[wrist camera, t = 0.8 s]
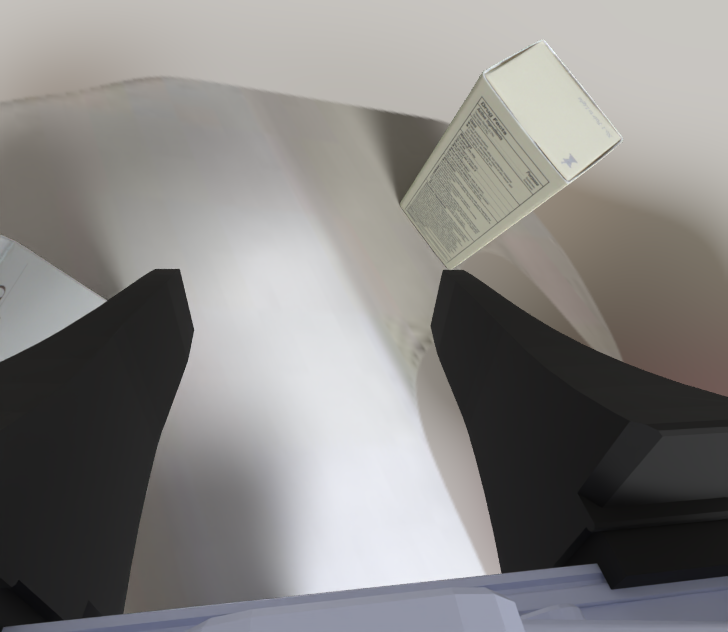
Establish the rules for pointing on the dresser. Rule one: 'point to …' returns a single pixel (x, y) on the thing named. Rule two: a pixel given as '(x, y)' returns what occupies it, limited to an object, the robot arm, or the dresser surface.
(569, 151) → the skincare box
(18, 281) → the skincare box
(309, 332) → the dresser surface
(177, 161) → the dresser surface
